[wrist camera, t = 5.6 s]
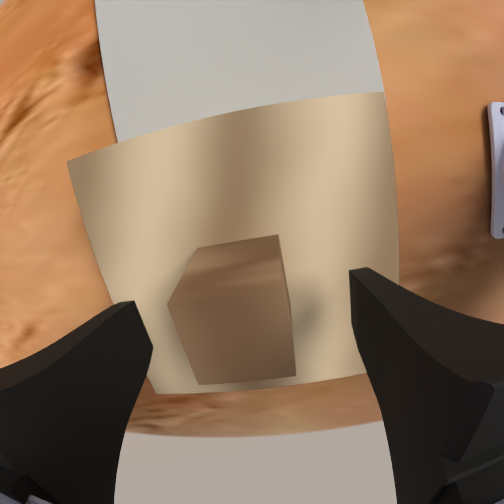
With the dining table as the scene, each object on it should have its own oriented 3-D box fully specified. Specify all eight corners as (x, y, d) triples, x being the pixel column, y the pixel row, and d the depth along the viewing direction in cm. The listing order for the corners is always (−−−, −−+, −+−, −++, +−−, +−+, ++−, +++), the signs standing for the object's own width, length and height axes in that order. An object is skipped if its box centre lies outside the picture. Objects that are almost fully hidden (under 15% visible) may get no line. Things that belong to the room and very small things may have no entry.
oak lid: (374, 93, 10) (438, 80, 6) (388, 353, 15) (418, 429, 10) (79, 158, 12) (-2, 183, 7) (161, 381, 16) (134, 453, 12)
